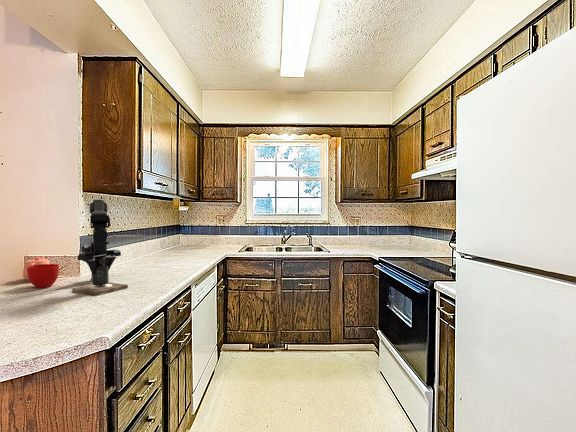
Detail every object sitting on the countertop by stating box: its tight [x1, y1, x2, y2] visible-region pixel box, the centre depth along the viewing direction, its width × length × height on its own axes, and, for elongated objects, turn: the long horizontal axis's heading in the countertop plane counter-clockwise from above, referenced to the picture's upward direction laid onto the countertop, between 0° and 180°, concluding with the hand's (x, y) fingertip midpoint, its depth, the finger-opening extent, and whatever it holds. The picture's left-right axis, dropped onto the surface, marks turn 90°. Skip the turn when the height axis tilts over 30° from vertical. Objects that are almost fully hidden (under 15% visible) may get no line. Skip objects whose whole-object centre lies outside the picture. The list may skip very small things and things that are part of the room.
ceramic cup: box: [27, 263, 60, 289], centre depth 184 cm, size 13×17×10 cm
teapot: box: [22, 255, 51, 282], centre depth 200 cm, size 20×12×12 cm, turn 17°
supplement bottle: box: [91, 258, 110, 285], centre depth 175 cm, size 7×7×12 cm
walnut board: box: [71, 281, 129, 297], centre depth 175 cm, size 17×16×2 cm
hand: (100, 273), depth 175 cm, fingers closed on supplement bottle, 7 cm apart
